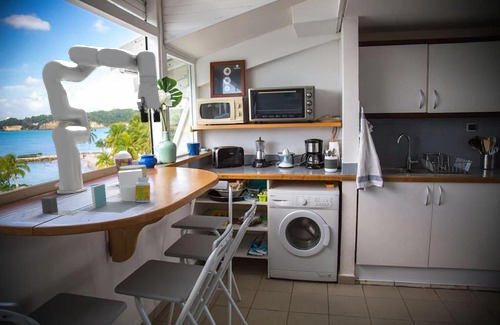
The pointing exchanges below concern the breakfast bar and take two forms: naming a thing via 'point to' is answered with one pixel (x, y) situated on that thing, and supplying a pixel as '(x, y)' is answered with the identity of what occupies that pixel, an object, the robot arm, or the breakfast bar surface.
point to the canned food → (134, 168)
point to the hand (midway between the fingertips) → (151, 122)
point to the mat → (112, 207)
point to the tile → (98, 195)
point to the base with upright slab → (128, 184)
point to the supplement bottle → (142, 190)
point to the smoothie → (122, 160)
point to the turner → (54, 207)
